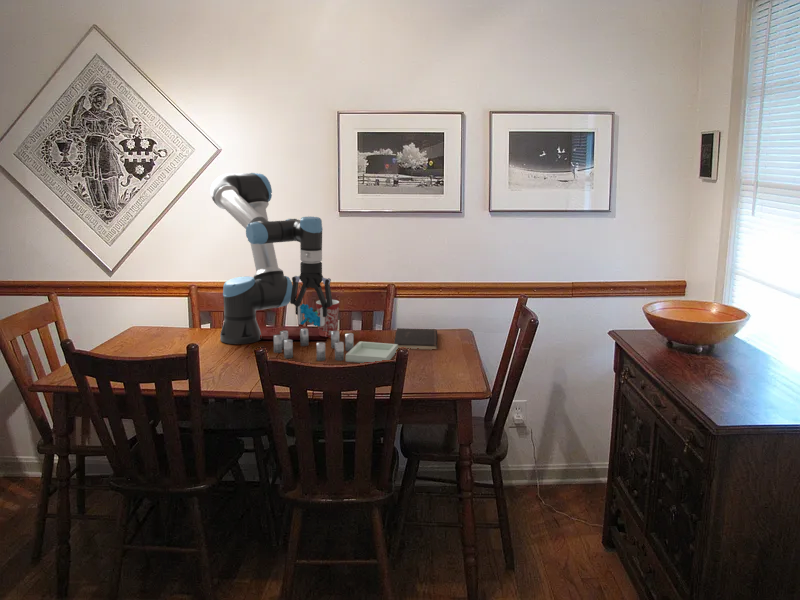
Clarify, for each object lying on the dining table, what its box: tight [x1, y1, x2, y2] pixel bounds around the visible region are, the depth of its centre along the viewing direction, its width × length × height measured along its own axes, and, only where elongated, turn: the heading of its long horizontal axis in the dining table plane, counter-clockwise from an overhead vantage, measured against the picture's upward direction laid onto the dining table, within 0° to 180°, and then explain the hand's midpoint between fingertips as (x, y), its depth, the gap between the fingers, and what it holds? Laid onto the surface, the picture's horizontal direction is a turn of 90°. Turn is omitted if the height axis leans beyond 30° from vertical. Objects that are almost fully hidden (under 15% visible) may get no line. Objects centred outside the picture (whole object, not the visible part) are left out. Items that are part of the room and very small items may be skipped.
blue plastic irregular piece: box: [300, 303, 320, 327], centre depth 257 cm, size 11×6×10 cm
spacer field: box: [272, 327, 354, 362], centre depth 259 cm, size 27×19×6 cm
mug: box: [315, 299, 340, 339], centre depth 282 cm, size 13×9×14 cm
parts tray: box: [345, 340, 399, 364], centre depth 255 cm, size 14×17×2 cm
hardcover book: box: [393, 327, 438, 350], centre depth 276 cm, size 16×23×2 cm
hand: (311, 324), depth 257 cm, fingers closed on blue plastic irregular piece, 8 cm apart
